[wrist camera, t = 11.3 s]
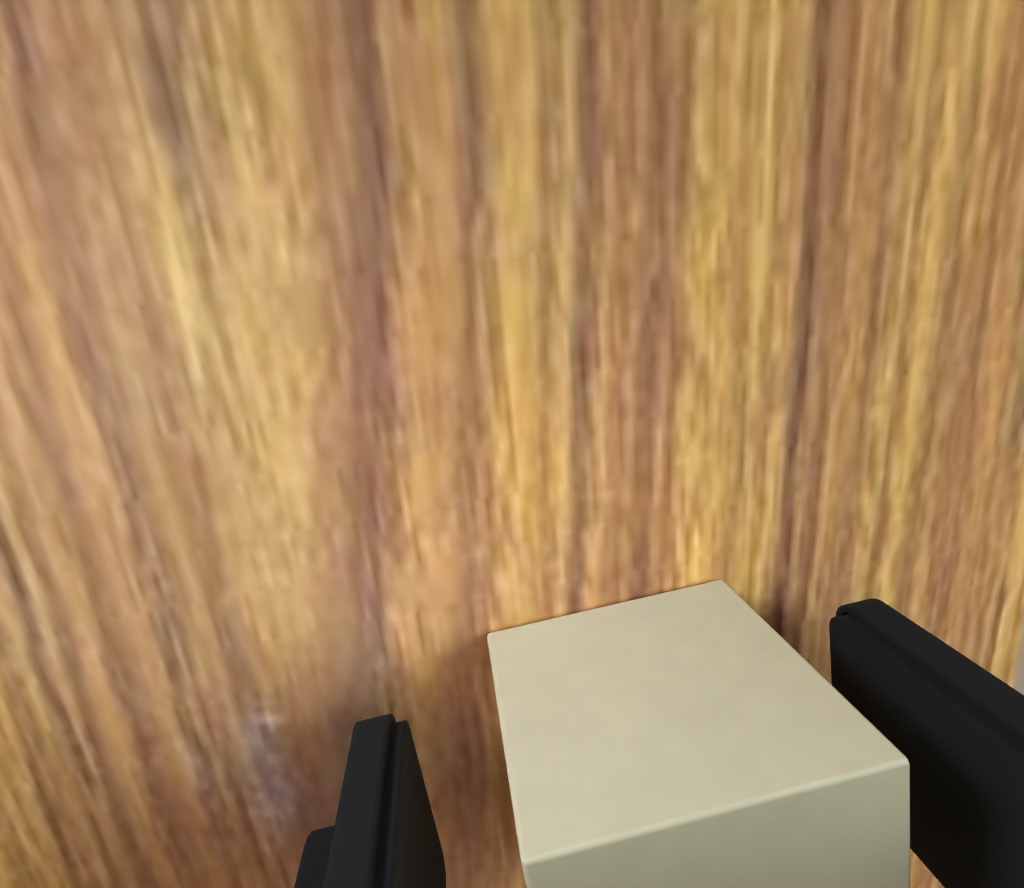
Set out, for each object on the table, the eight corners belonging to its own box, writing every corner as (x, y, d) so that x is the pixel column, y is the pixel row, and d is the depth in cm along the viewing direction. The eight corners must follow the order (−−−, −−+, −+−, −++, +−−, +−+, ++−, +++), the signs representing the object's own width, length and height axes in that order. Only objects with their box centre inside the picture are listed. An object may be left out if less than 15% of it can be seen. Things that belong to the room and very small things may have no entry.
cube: (722, 577, 10) (912, 760, 6) (740, 773, 11) (912, 1037, 7) (485, 632, 9) (520, 863, 5) (528, 828, 10) (582, 1140, 6)
